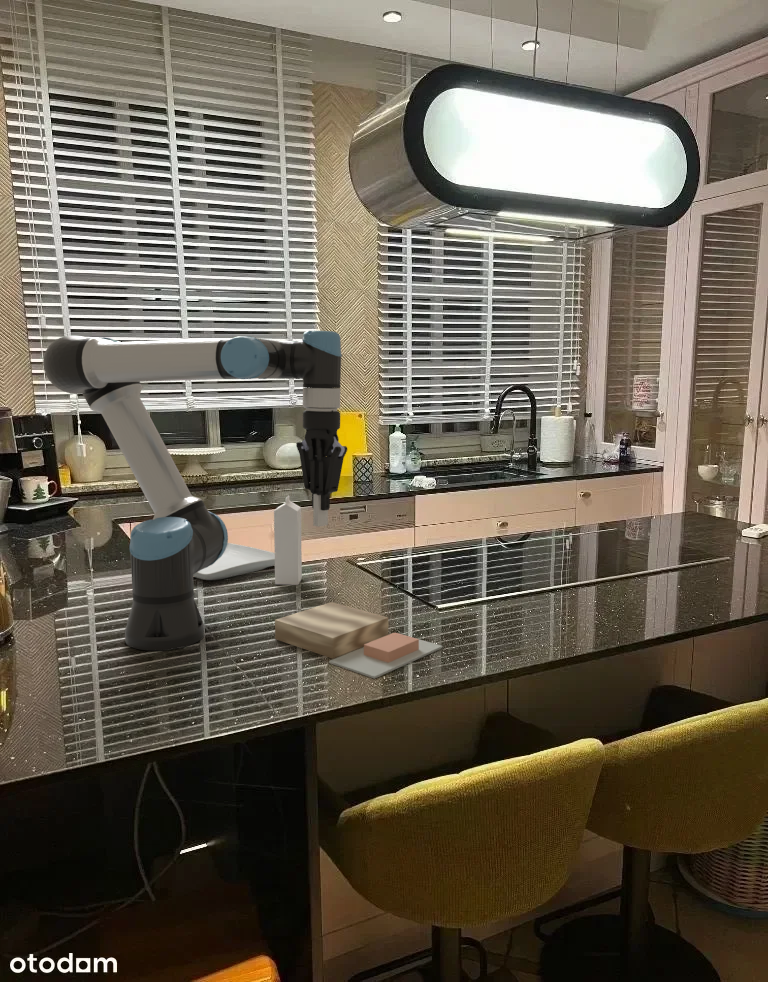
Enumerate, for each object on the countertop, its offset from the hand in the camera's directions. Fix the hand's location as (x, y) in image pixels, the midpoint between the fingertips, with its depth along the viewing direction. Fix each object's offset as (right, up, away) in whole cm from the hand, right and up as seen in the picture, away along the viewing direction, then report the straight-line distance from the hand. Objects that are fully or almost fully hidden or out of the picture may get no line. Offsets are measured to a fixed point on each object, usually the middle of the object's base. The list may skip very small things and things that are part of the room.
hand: (320, 525), depth 154 cm
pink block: (+14, -21, -13) cm, 29 cm away
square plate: (-32, -15, +52) cm, 63 cm away
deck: (+3, -22, -3) cm, 23 cm away
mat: (+14, -24, -13) cm, 30 cm away
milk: (-11, -16, +38) cm, 43 cm away
